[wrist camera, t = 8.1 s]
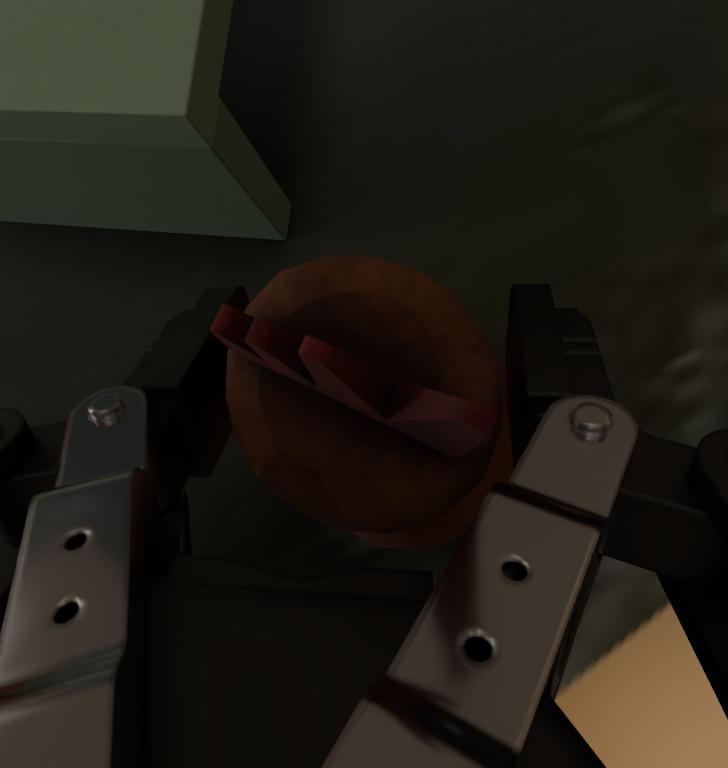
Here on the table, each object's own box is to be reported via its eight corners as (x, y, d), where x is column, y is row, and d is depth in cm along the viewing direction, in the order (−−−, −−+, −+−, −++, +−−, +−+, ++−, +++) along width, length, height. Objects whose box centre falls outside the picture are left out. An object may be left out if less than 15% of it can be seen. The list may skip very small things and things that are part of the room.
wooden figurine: (542, 437, 19) (876, 369, 4) (412, 559, 19) (282, 923, 4) (398, 293, 20) (255, -154, 5) (277, 409, 20) (-187, 282, 5)
